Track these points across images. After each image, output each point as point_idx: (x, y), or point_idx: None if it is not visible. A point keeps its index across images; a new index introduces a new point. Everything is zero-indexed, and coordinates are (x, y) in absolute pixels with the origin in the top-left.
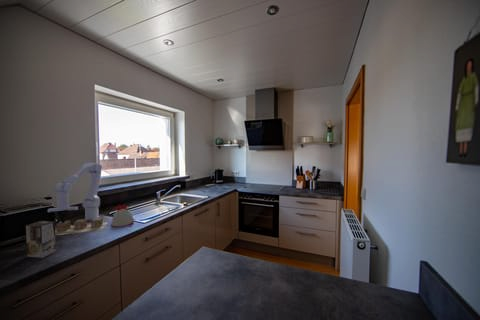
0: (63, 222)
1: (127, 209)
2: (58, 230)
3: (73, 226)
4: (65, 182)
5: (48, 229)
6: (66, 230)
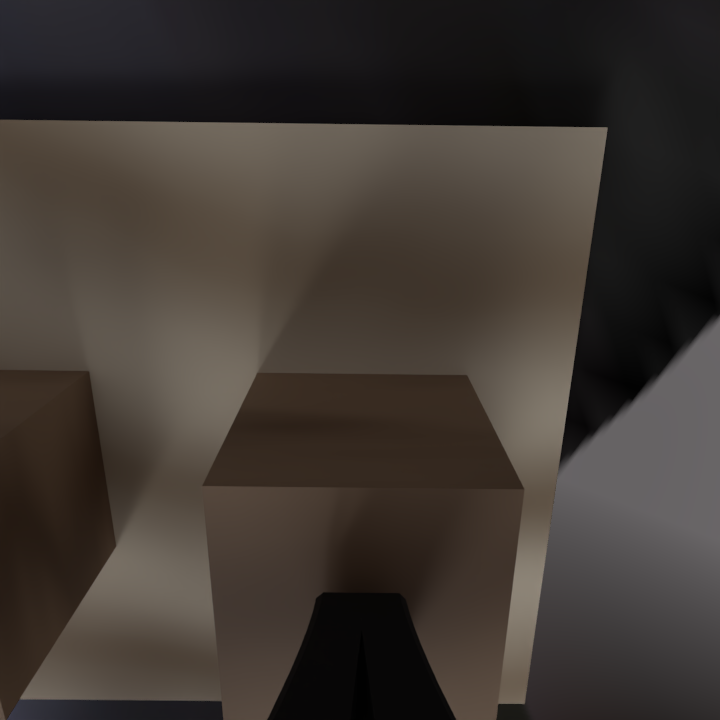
0: None
1: None
2: (428, 387)
3: None
4: None
5: None
6: (257, 378)
